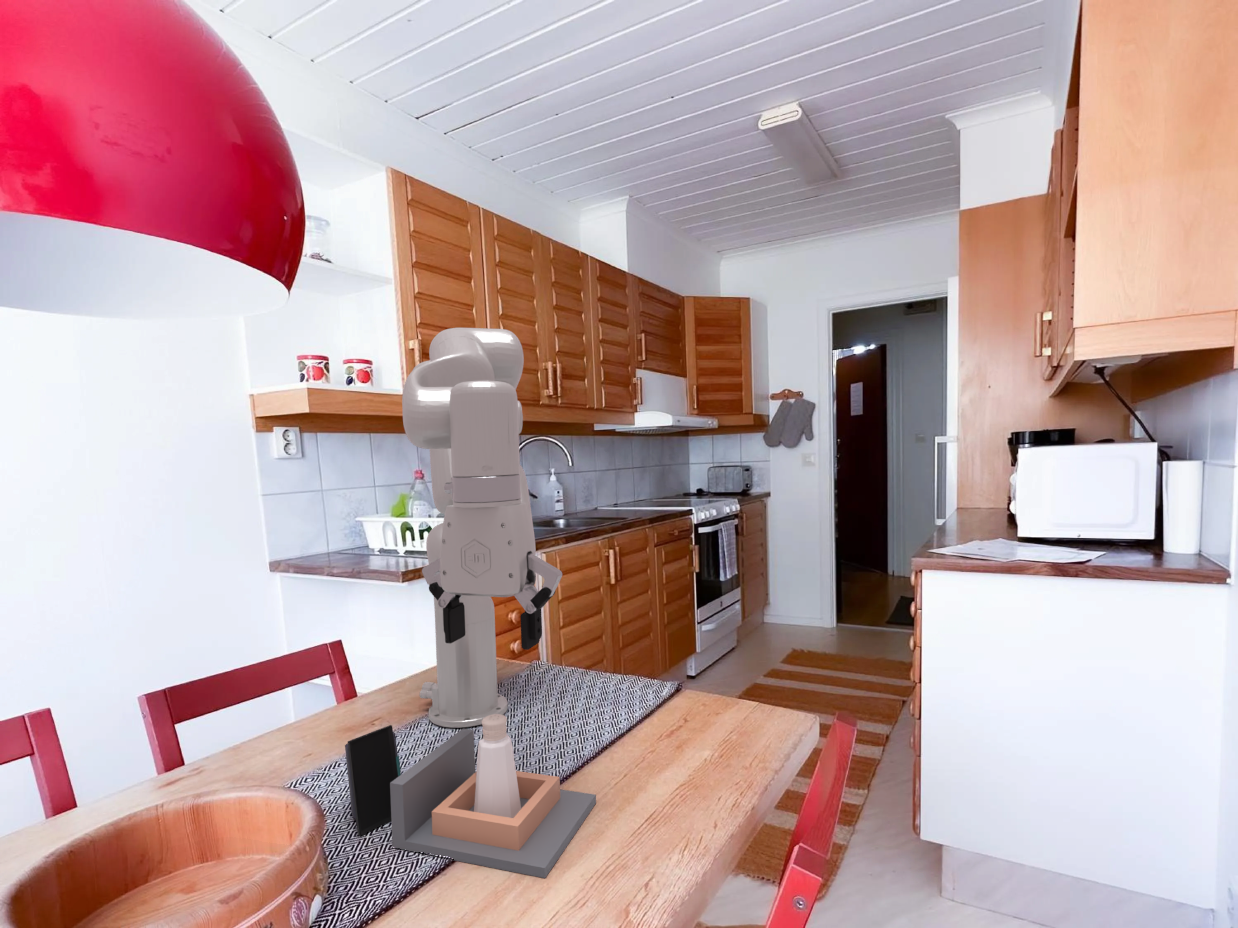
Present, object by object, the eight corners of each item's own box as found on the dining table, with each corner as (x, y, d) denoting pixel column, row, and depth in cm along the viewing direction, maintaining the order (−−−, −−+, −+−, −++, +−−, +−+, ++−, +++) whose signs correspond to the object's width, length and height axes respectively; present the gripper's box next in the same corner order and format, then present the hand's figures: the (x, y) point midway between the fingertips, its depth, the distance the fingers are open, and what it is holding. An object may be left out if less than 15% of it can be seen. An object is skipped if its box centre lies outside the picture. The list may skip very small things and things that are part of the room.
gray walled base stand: (392, 847, 68) (389, 782, 68) (464, 782, 81) (462, 728, 81) (545, 878, 62) (542, 806, 62) (596, 802, 75) (593, 744, 75)
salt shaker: (479, 802, 74) (475, 708, 74) (525, 800, 74) (521, 707, 74) (468, 829, 69) (464, 728, 69) (517, 827, 69) (514, 727, 69)
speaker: (411, 818, 73) (401, 727, 73) (358, 837, 70) (348, 742, 70) (399, 796, 79) (389, 712, 80) (349, 812, 76) (340, 725, 77)
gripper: (401, 495, 70) (407, 647, 71) (542, 494, 65) (547, 659, 65) (440, 490, 78) (446, 628, 78) (571, 489, 72) (575, 638, 72)
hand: (492, 642), depth 72 cm, fingers open, 9 cm apart
